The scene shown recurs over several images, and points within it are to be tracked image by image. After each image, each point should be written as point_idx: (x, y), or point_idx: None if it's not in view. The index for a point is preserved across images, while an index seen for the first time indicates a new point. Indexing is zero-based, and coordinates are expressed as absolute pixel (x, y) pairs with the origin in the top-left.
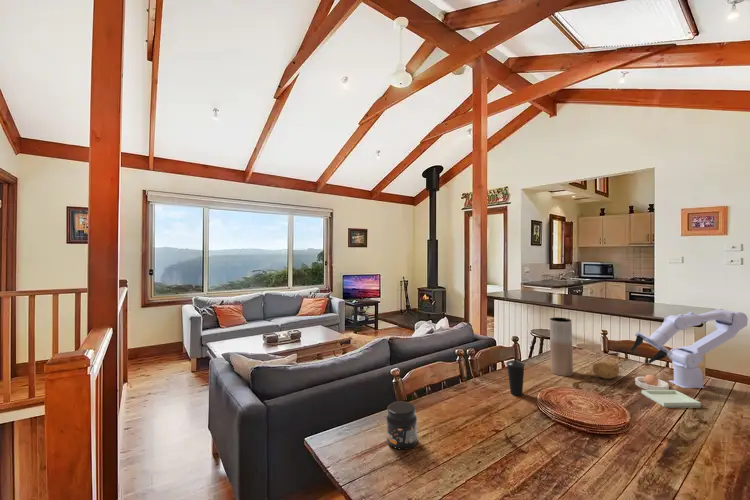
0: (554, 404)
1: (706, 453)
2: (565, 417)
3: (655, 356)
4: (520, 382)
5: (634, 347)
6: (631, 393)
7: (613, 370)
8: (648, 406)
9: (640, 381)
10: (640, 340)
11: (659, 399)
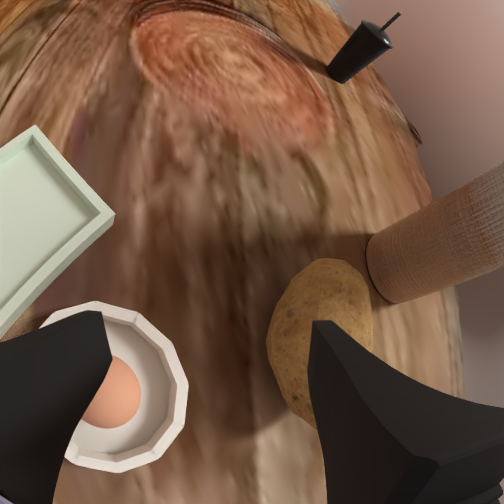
0: (271, 50)
1: (18, 7)
2: (231, 18)
3: (28, 342)
4: (342, 47)
5: (326, 336)
6: (150, 209)
7: (290, 311)
8: (83, 119)
9: (166, 417)
10: (388, 423)
11: (45, 145)
